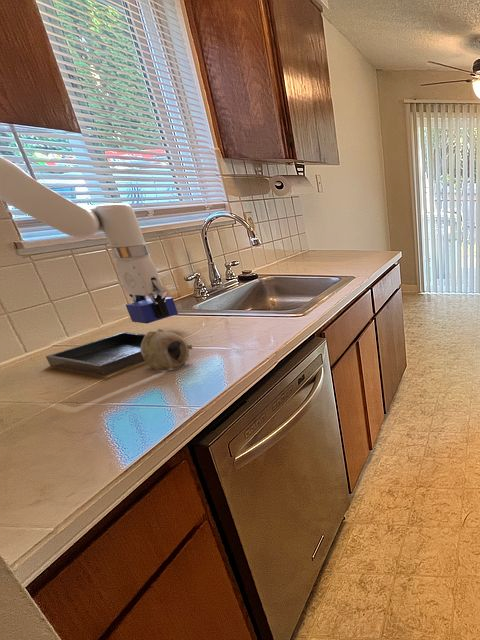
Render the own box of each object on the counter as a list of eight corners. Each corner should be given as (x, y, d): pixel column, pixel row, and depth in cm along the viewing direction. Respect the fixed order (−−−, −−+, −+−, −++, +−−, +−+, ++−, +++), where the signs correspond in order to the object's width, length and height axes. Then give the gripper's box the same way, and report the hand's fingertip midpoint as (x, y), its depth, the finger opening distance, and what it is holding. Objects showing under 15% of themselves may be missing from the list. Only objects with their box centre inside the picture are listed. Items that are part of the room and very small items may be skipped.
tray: (51, 368, 97) (45, 356, 96) (128, 342, 112) (124, 331, 111) (105, 378, 91) (99, 366, 90) (179, 350, 107) (175, 338, 105)
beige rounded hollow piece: (155, 382, 95) (121, 350, 89) (166, 363, 101) (135, 332, 95) (194, 366, 96) (163, 334, 90) (202, 348, 102) (174, 317, 96)
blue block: (132, 321, 113) (125, 304, 111) (163, 312, 120) (158, 296, 118) (147, 323, 111) (140, 306, 109) (178, 313, 119) (172, 297, 117)
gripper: (94, 253, 107) (120, 317, 115) (138, 256, 102) (163, 322, 110) (124, 249, 114) (147, 309, 121) (167, 251, 109) (189, 314, 116)
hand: (154, 315), depth 115 cm, fingers closed on blue block, 6 cm apart
